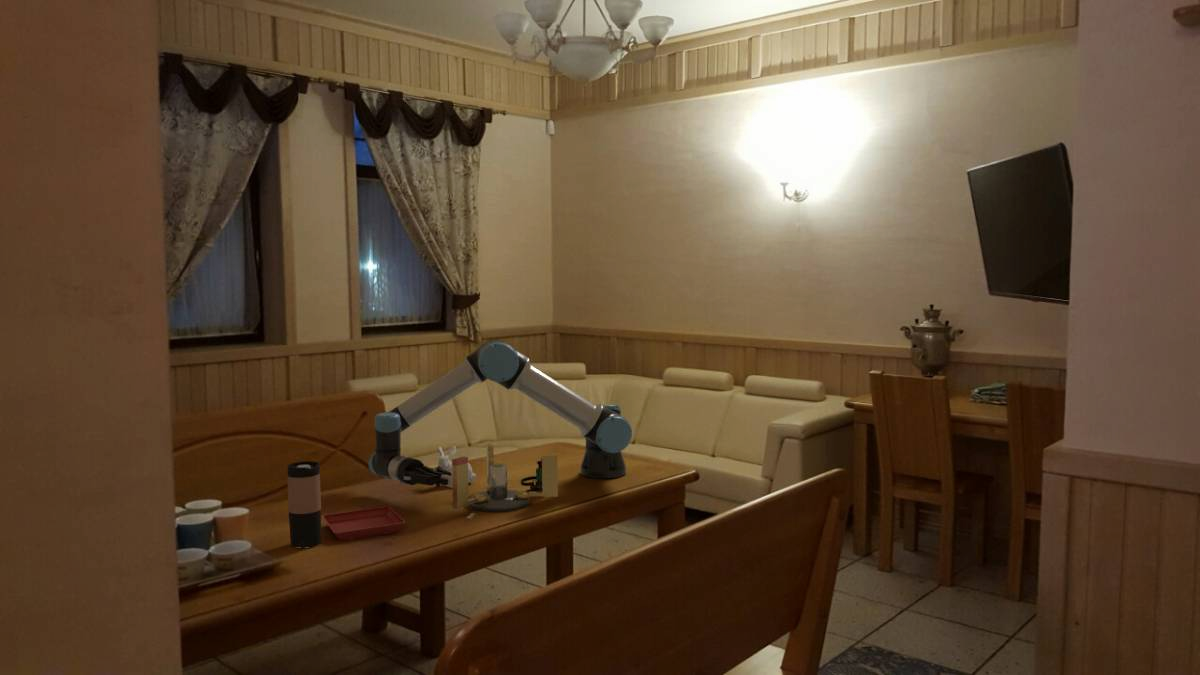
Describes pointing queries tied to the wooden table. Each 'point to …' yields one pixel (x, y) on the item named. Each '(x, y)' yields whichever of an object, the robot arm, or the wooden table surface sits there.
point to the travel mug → (304, 504)
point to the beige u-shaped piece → (463, 485)
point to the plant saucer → (364, 522)
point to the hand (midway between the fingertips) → (457, 483)
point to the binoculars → (538, 477)
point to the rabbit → (447, 465)
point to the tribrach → (514, 499)
